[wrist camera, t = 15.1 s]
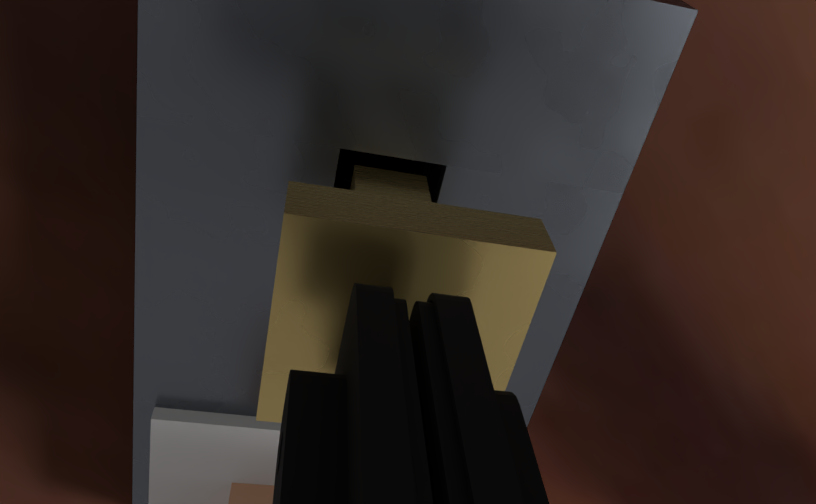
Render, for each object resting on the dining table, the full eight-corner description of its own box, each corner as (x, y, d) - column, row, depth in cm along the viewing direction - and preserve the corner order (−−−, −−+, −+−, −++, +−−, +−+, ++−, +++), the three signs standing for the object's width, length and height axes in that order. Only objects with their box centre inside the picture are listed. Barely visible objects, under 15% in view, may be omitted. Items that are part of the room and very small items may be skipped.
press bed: (626, -33, 17) (707, 16, 13) (428, 534, 27) (441, 649, 24) (185, -130, 15) (132, -107, 11) (159, 516, 26) (127, 637, 22)
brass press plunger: (499, 130, 14) (557, 252, 10) (452, 290, 16) (485, 441, 13) (301, 95, 14) (283, 213, 10) (278, 267, 16) (255, 420, 12)
